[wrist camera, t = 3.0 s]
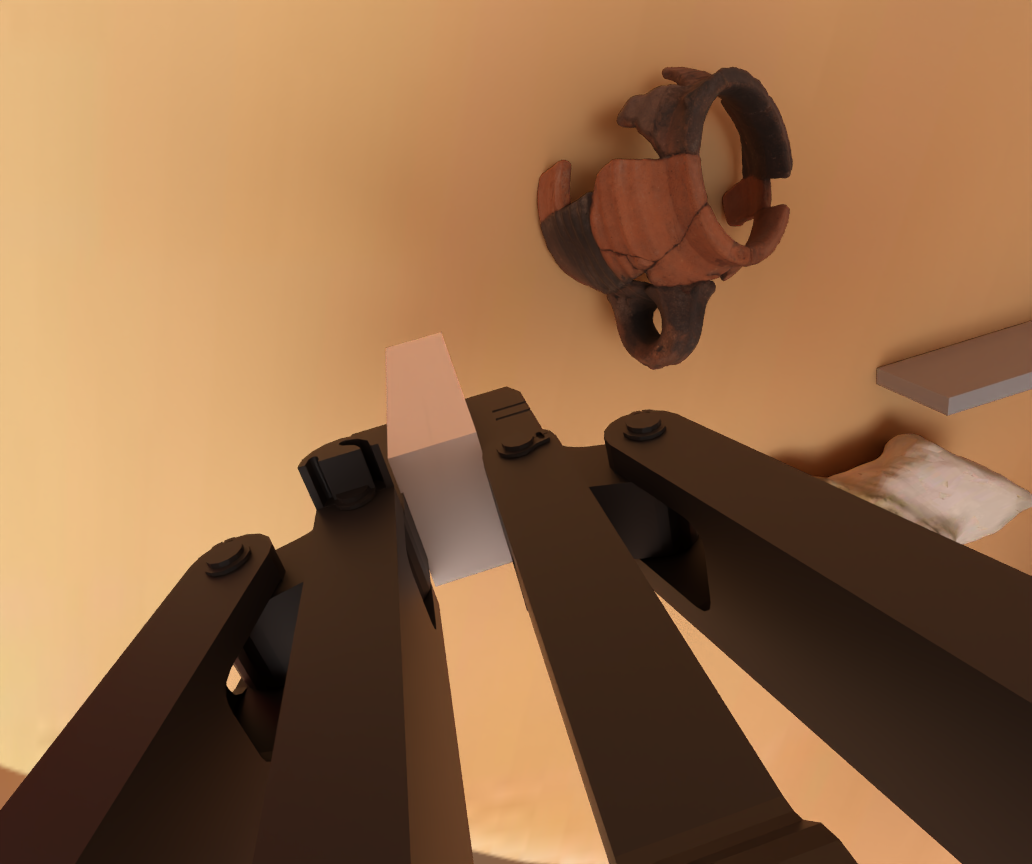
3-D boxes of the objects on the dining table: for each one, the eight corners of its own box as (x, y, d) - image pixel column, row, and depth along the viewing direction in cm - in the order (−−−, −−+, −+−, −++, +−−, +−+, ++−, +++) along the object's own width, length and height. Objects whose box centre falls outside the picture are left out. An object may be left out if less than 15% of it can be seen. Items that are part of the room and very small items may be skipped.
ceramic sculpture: (1074, 589, 32) (814, 709, 34) (949, 504, 40) (742, 604, 42) (1058, 432, 28) (759, 578, 29) (920, 371, 36) (689, 488, 37)
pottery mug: (513, 104, 27) (663, 15, 20) (656, 129, 32) (810, 66, 26) (537, 378, 29) (680, 379, 22) (668, 358, 34) (814, 354, 28)
